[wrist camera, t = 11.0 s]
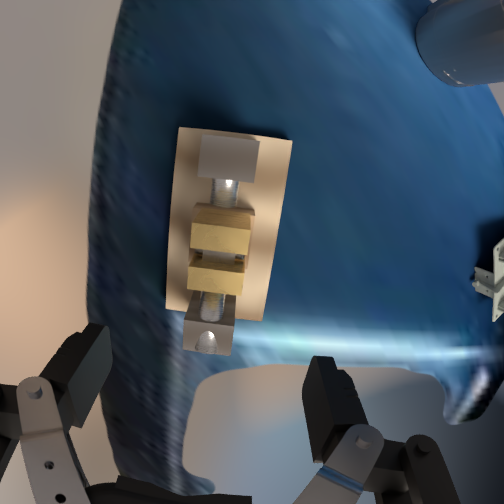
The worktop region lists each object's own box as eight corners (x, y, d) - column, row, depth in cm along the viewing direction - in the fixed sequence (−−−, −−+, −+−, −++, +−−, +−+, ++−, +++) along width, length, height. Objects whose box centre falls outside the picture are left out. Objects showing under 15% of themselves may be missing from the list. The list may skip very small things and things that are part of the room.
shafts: (219, 136, 23) (214, 135, 19) (245, 139, 23) (245, 138, 19) (198, 333, 28) (193, 358, 25) (220, 336, 29) (217, 361, 25)
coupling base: (182, 127, 28) (157, 123, 20) (290, 141, 28) (306, 141, 20) (169, 301, 34) (148, 348, 25) (261, 313, 34) (264, 364, 26)
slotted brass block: (242, 269, 28) (241, 296, 23) (196, 263, 28) (187, 288, 23) (250, 213, 26) (250, 230, 22) (202, 207, 26) (191, 222, 21)
